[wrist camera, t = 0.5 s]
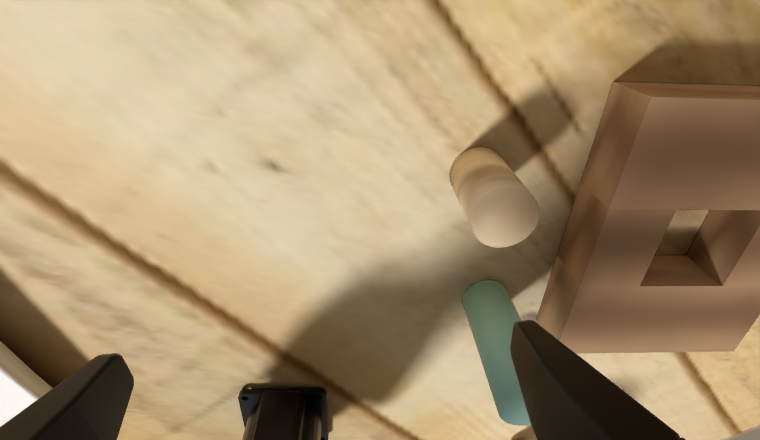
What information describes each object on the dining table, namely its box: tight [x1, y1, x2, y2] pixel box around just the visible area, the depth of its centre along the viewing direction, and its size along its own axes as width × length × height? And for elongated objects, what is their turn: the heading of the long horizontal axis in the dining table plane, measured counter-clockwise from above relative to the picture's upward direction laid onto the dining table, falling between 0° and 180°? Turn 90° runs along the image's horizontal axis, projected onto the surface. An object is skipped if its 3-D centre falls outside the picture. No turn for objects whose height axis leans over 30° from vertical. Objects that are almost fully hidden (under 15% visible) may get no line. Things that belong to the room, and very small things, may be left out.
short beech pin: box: [450, 147, 540, 248], centre depth 20 cm, size 3×3×5 cm
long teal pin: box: [462, 280, 531, 425], centre depth 23 cm, size 3×3×8 cm
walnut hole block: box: [536, 82, 760, 353], centre depth 23 cm, size 16×12×3 cm
